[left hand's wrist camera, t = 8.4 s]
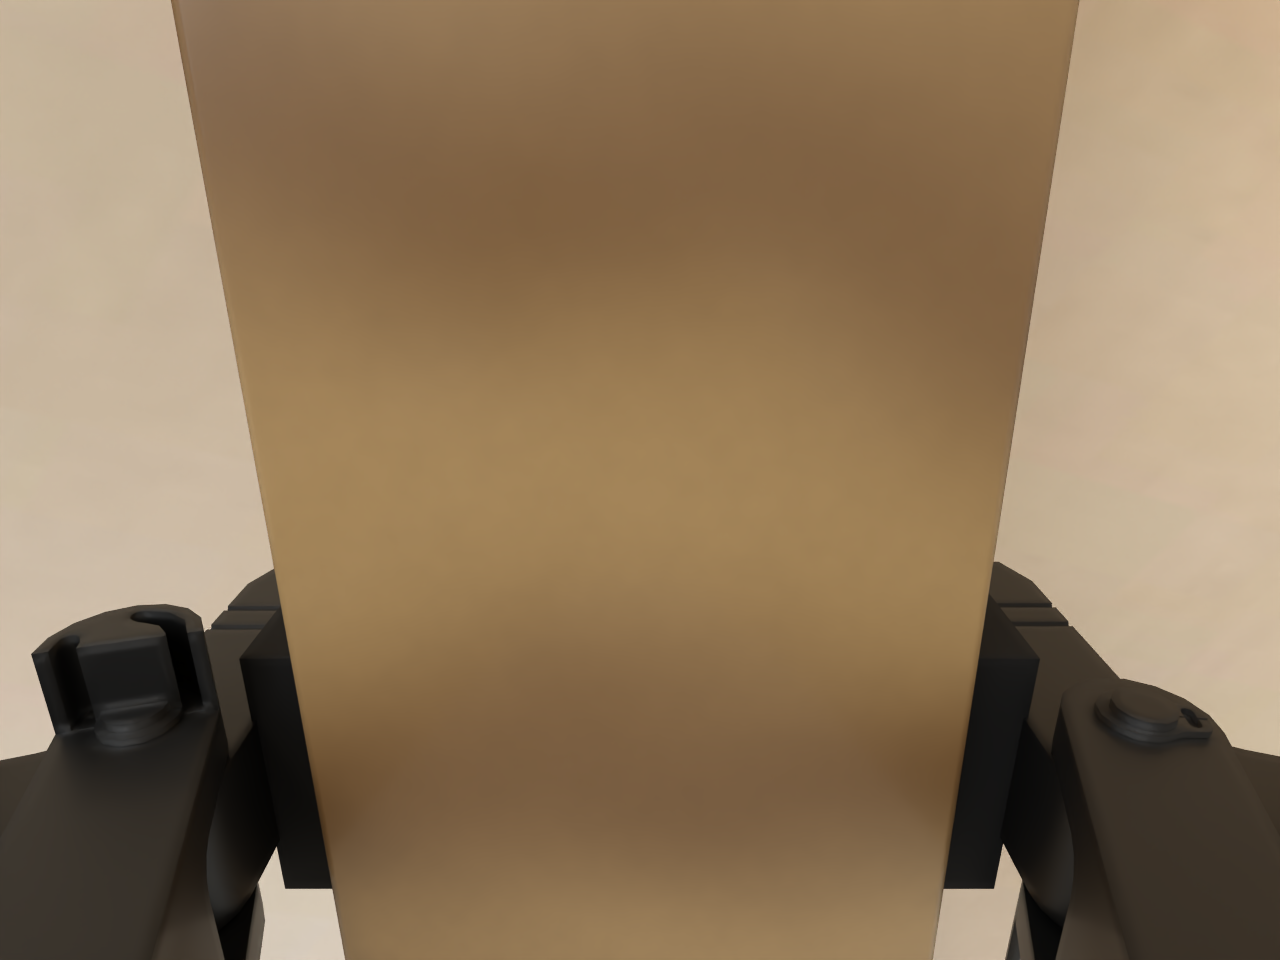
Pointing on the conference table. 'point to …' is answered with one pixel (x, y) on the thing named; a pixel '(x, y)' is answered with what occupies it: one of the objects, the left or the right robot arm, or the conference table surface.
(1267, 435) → the conference table surface
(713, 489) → the beam
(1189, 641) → the conference table surface
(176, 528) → the conference table surface
